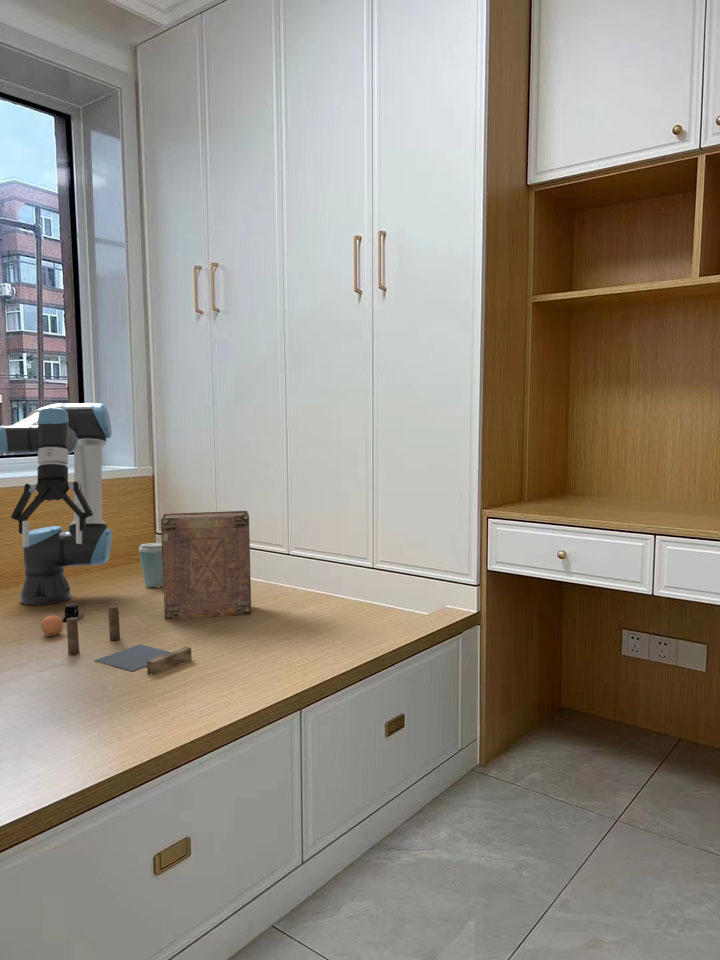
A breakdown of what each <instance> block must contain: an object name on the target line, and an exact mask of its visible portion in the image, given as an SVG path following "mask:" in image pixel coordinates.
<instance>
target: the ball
mask: <svg viewBox="0 0 720 960" xmlns="http://www.w3.org/2000/svg"><path fill="white" fill-rule="evenodd" d="M62 620H63V619H62V618H61V617H59V616H58V615H53V614H51V615H48V616H46V617H45V618H44V619H43V620H42V622H41V631H42V632H43V633H44V635H45V636H49V637H53V636H57V635H59V634H60V633H61V632H62V631H63V629H64V623H63V621H62Z"/></svg>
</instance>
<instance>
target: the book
mask: <svg viewBox="0 0 720 960" xmlns="http://www.w3.org/2000/svg"><path fill="white" fill-rule="evenodd" d="M162 516H163V517H162V518H161V519H160V532H161V535H160V536H161V543H162V562H163V586H162V587H163V608H164V609H163V611H164V620H166V619H172V620H181V618H187V619H197V618H196V617H202V618H211V617H210V616H216V617H228V616H227V615H231V616H239V615H240V616H242V614H245V615H252V594H251V592H252V591H251V590H252V589H251V588H252V585H251V553H250V552H251V547H250V546H251V545H250V538H251V537H250V514H249V511H247V510H238V511H237V510H235V511H234V510H232V511H231V510H229V511H206V512H205V511H203V512H179V513H178V512H177V513H174V512H173V513H164V514H163V515H162ZM166 621H167V620H166Z"/></svg>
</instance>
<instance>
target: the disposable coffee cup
mask: <svg viewBox="0 0 720 960" xmlns="http://www.w3.org/2000/svg"><path fill="white" fill-rule="evenodd" d="M138 551H139V558H140V562H141V568H142V574H143V581H144V585H145V587H147V588H150V587H156V588H159V587H158V586H162V585H163V562H162V542H151V543H149V542H148V543H142V544H140V546H139V547H138ZM162 587H163V586H162Z"/></svg>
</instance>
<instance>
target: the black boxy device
mask: <svg viewBox="0 0 720 960" xmlns="http://www.w3.org/2000/svg"><path fill="white" fill-rule="evenodd" d="M79 610H80V609H79V603H67V604H66V605H65V606H64V617H63V618H62V619H61V620H62V621H63V624H65V623H67V620H66V619H68V618H73V617H75V618H78V621H79V620H80V619H81V618H82V617H83V616H84V615H83V614H84V613H80V611H79Z"/></svg>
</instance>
